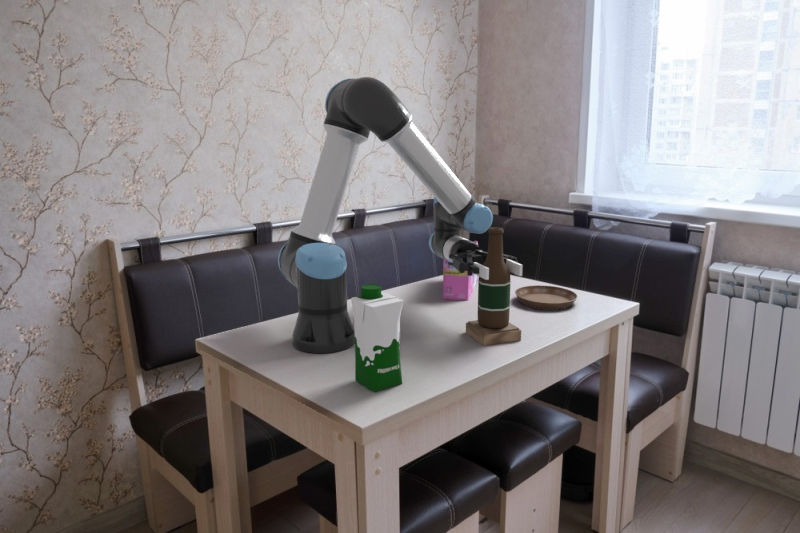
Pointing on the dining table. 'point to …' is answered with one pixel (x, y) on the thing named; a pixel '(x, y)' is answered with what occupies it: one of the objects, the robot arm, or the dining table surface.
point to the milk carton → (377, 338)
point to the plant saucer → (546, 297)
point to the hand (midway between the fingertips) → (504, 272)
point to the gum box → (457, 282)
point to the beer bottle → (494, 285)
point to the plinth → (493, 333)
